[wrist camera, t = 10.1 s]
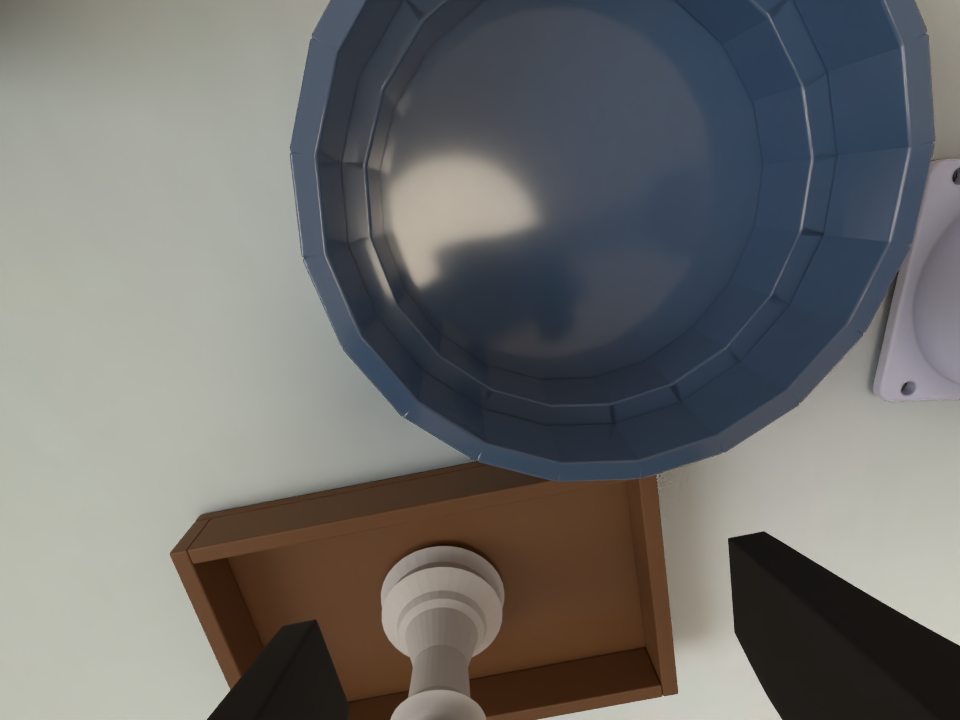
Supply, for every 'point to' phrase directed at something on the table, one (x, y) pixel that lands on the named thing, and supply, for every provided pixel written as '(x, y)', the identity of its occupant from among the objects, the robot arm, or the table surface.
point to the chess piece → (441, 627)
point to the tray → (469, 525)
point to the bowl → (607, 212)
